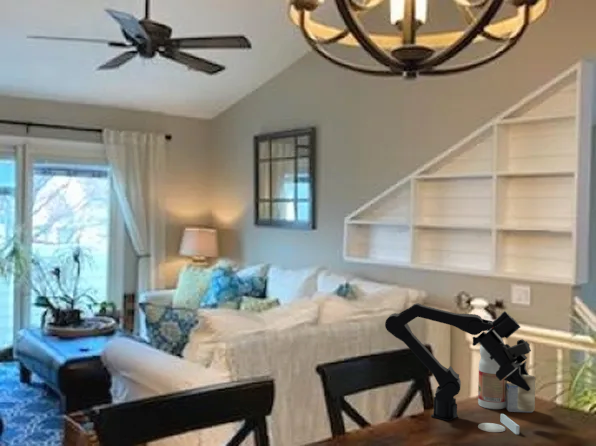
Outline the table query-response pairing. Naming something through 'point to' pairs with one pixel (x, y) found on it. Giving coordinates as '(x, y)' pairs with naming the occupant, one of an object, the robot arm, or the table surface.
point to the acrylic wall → (509, 424)
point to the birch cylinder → (527, 395)
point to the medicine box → (512, 398)
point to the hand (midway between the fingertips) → (531, 388)
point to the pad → (491, 427)
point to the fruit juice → (490, 382)
